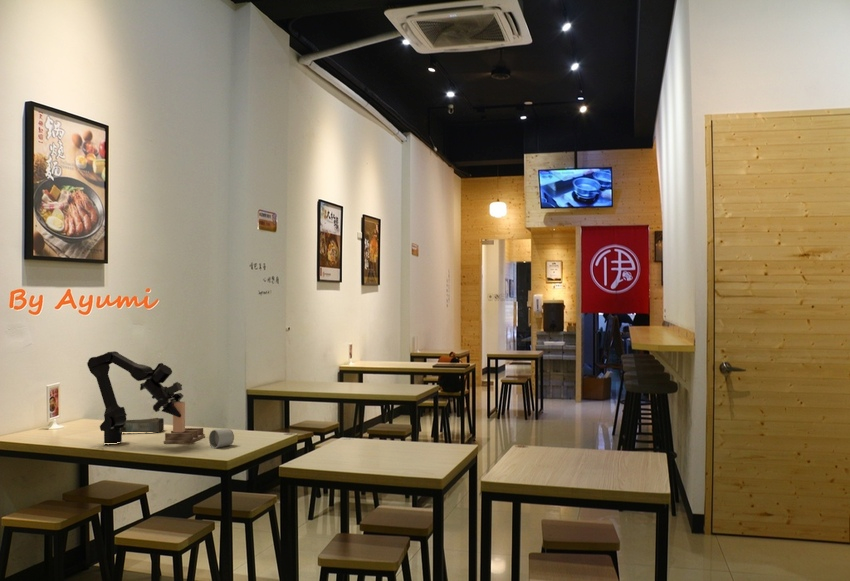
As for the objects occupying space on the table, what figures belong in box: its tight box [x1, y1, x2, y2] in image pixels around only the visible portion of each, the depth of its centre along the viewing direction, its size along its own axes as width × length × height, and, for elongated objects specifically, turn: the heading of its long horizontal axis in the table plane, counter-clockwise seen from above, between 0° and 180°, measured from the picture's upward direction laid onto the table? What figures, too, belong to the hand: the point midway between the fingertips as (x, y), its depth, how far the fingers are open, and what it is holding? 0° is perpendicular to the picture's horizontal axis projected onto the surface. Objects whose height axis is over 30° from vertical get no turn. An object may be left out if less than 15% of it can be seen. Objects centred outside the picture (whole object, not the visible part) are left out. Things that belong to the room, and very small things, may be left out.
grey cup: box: [208, 428, 235, 449], centre depth 294 cm, size 11×8×8 cm
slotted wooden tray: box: [163, 427, 206, 445], centre depth 308 cm, size 12×16×4 cm
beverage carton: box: [120, 417, 165, 433], centre depth 330 cm, size 8×19×7 cm, turn 96°
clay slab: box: [172, 401, 186, 432], centre depth 296 cm, size 4×3×12 cm
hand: (182, 416), depth 296 cm, fingers closed on clay slab, 3 cm apart
